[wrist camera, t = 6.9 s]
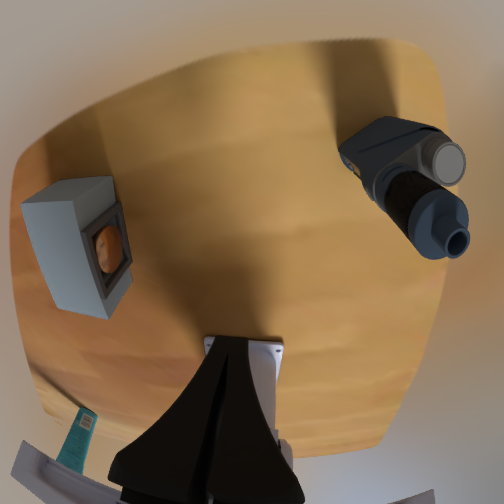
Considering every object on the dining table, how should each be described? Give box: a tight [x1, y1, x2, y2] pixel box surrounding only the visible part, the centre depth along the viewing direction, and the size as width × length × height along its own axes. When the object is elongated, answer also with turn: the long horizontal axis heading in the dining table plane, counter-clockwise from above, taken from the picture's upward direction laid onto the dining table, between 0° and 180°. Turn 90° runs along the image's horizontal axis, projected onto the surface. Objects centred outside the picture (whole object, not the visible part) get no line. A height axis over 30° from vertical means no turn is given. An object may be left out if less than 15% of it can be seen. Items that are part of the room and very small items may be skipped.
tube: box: [56, 407, 97, 475], centre depth 39 cm, size 7×5×19 cm, turn 79°
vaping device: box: [338, 116, 470, 260], centre depth 11 cm, size 3×5×12 cm, turn 131°
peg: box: [91, 225, 122, 273], centre depth 19 cm, size 7×4×4 cm, turn 88°
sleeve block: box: [20, 176, 132, 320], centre depth 19 cm, size 6×10×5 cm, turn 178°
